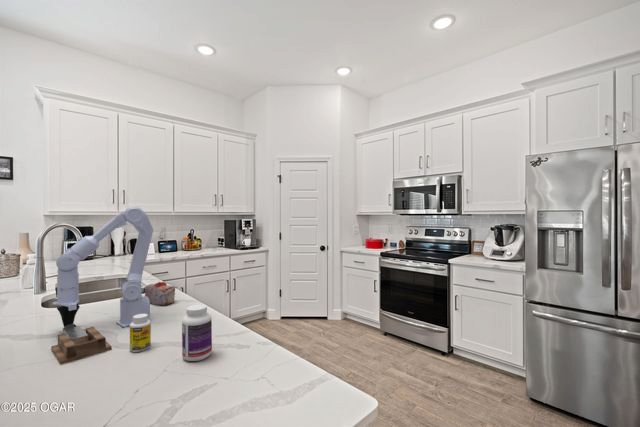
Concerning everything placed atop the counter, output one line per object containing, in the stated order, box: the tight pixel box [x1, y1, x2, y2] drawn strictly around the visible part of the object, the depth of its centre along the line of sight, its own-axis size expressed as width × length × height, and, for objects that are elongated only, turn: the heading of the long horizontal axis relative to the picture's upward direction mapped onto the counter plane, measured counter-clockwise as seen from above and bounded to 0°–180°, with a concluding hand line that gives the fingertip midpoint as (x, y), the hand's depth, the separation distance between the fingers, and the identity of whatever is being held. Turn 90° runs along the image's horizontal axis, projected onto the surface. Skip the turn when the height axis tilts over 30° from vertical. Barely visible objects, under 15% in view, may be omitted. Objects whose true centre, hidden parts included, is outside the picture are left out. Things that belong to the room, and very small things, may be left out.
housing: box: [50, 326, 112, 365], centre depth 92 cm, size 14×12×4 cm
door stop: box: [62, 323, 88, 345], centre depth 98 cm, size 15×4×4 cm, turn 50°
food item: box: [144, 281, 176, 306], centre depth 139 cm, size 14×8×10 cm, turn 69°
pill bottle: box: [181, 304, 213, 362], centre depth 88 cm, size 8×8×14 cm
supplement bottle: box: [129, 314, 152, 353], centre depth 93 cm, size 6×6×10 cm
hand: (68, 326), depth 104 cm, fingers closed
